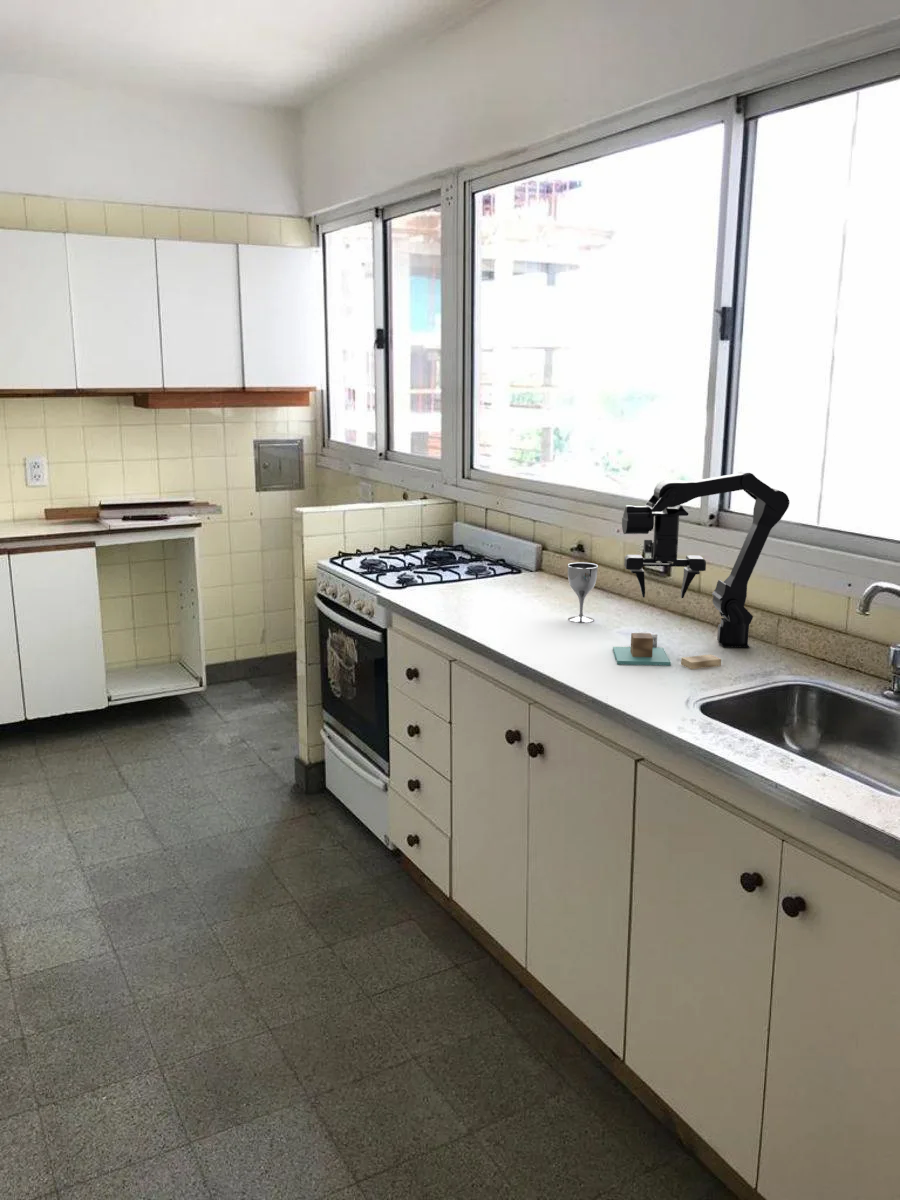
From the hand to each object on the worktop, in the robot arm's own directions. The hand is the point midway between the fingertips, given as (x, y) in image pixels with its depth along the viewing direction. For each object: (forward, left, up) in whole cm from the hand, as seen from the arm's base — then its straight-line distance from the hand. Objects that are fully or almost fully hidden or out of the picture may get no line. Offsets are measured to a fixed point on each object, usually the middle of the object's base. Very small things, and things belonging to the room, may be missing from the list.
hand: (662, 597), depth 237 cm
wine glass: (+18, -24, -12) cm, 32 cm away
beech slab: (-7, +16, -12) cm, 21 cm away
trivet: (+6, +11, -12) cm, 17 cm away
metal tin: (+4, +1, -12) cm, 13 cm away
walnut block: (+6, +11, -11) cm, 17 cm away
